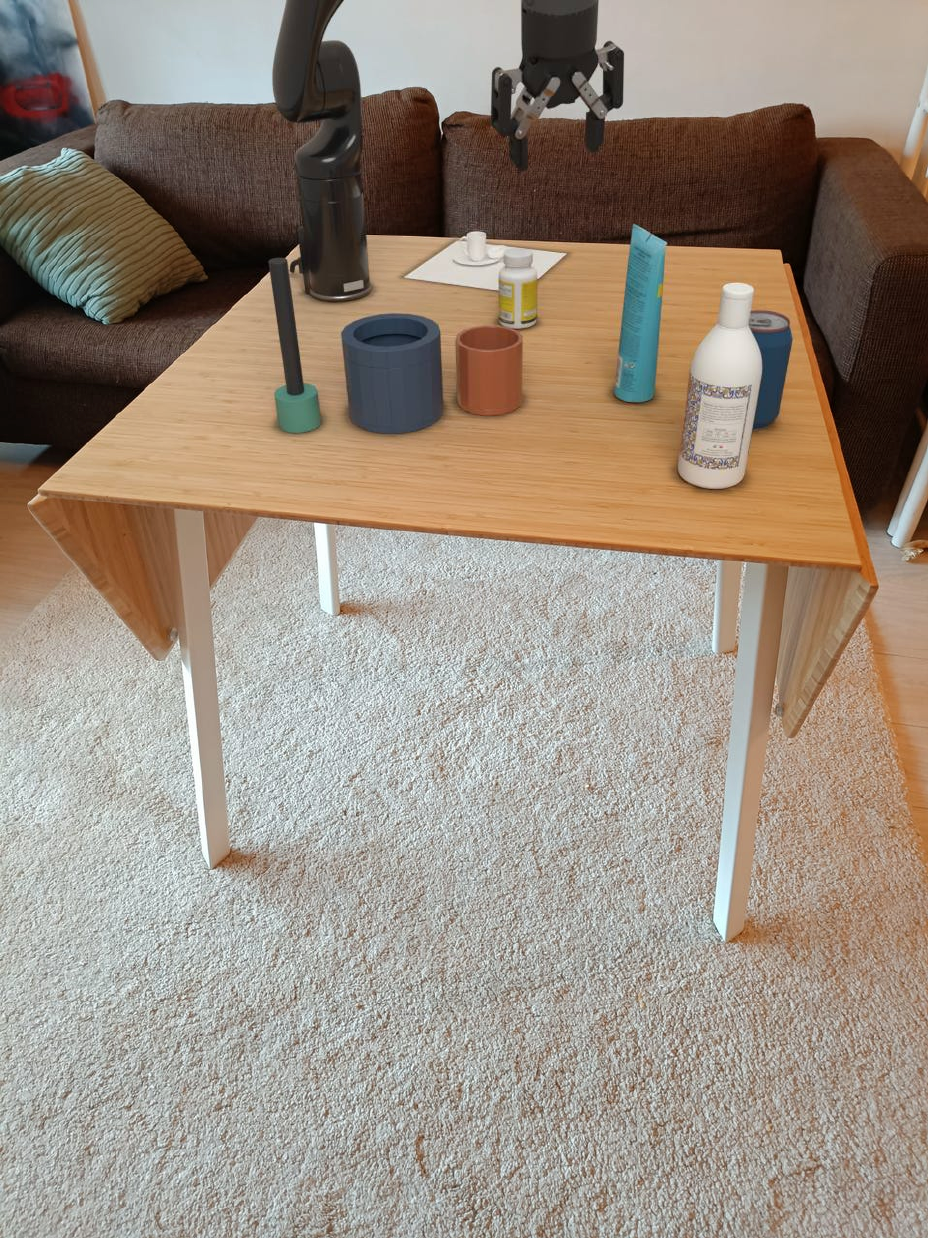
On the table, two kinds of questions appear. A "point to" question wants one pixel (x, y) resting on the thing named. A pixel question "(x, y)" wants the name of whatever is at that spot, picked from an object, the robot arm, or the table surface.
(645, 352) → the tube
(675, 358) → the table surface
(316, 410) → the sponge wand
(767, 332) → the soda can
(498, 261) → the teacup and saucer
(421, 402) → the jar
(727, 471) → the bath foam
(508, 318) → the supplement bottle
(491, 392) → the crock
